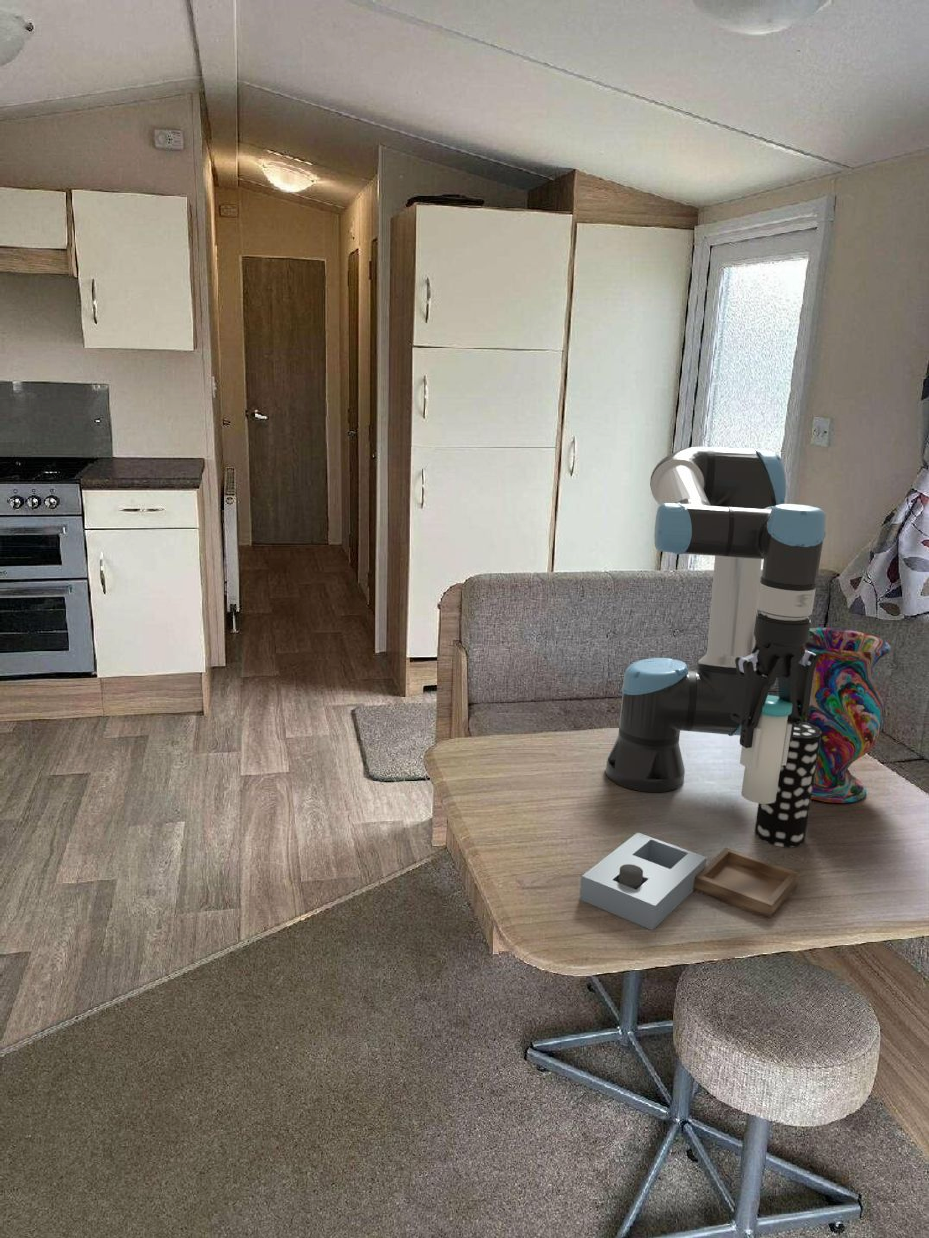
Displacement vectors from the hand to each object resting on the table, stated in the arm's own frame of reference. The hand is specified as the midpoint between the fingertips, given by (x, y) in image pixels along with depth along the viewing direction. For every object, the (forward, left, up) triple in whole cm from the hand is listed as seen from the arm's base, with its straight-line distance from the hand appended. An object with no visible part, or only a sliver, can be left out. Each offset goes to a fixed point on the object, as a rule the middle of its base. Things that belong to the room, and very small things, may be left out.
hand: (762, 763), depth 141 cm
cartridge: (0, 0, -5) cm, 5 cm away
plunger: (-12, -16, -20) cm, 28 cm away
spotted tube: (-2, +21, -21) cm, 30 cm away
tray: (0, 0, -21) cm, 21 cm away
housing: (-12, -11, -21) cm, 27 cm away
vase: (-3, +47, -21) cm, 52 cm away
